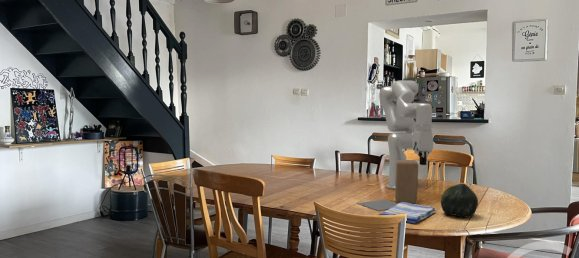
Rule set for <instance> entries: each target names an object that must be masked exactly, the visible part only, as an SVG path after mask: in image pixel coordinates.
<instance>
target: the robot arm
mask: <svg viewBox="0 0 579 258" xmlns="http://www.w3.org/2000/svg"><path fill="white" fill-rule="evenodd" d="M418 92H419V84H418V83H417V82H416V81H414V80H396V81H394V82H393V83H392V85H391V86H390V85H389V86H384V87H382V88H380V90H379V95H378V99H379V103H380V105H381V107H382V109H383V112H384V115H385V121H386V126H387V129H388V131H389V132H391V133H390V134H389V135H388V136H387V145H388V154H389V156H388V157H389V160H388V161H389V163H388V164H389V165H388V169H389V171H388V183H387V184H386V188H388V189H394V190H395V182H396V161H397V160H407V155H406V154H405V152H404V151H403V150H413V151H414V152H413V153H414V154H417V156H418V157H419V165H421V166H427V165H428V164H427V162H428V157H429V154H431V153H433V149H434V136H433V130H432V128H433V126H432V125H433V124H432V123H433V122H432V119H433V117H432V116H433V114H432V113H433V112H432V110H433V107H432V105H431V104H430V103H424V102H423V103H422V102H418V103H417V102H413V101H414V100H415V98H416V97H415V96H416V95H417V94H418ZM393 101H395V102H396V103H394V102H393Z"/></svg>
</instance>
